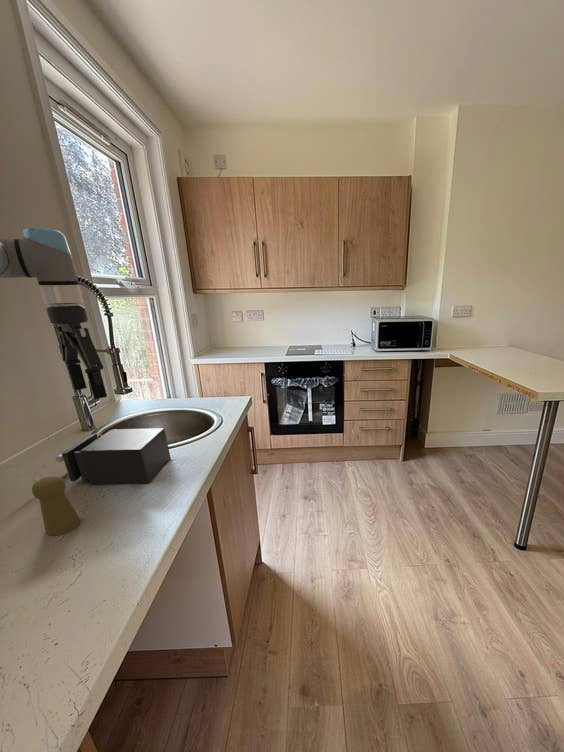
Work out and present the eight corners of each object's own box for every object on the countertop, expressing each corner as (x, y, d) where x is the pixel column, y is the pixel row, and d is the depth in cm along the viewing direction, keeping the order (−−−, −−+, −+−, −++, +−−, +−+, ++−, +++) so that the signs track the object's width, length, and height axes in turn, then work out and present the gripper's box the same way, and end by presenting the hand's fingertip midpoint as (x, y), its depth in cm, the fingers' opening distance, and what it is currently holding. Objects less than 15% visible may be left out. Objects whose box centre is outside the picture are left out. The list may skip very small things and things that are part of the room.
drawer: (54, 481, 87) (43, 453, 84) (85, 459, 99) (76, 433, 96) (124, 480, 87) (116, 452, 84) (147, 457, 99) (141, 432, 96)
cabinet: (91, 485, 87) (79, 450, 83) (120, 460, 100) (111, 429, 96) (149, 484, 87) (140, 449, 83) (171, 459, 100) (164, 428, 96)
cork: (81, 528, 71) (64, 481, 67) (44, 539, 68) (24, 491, 64) (80, 513, 76) (64, 469, 72) (46, 524, 73) (27, 478, 69)
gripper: (103, 305, 76) (126, 398, 85) (66, 303, 91) (88, 382, 99) (64, 307, 71) (92, 406, 79) (30, 305, 86) (57, 388, 94)
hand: (90, 393), depth 89 cm, fingers open, 13 cm apart
